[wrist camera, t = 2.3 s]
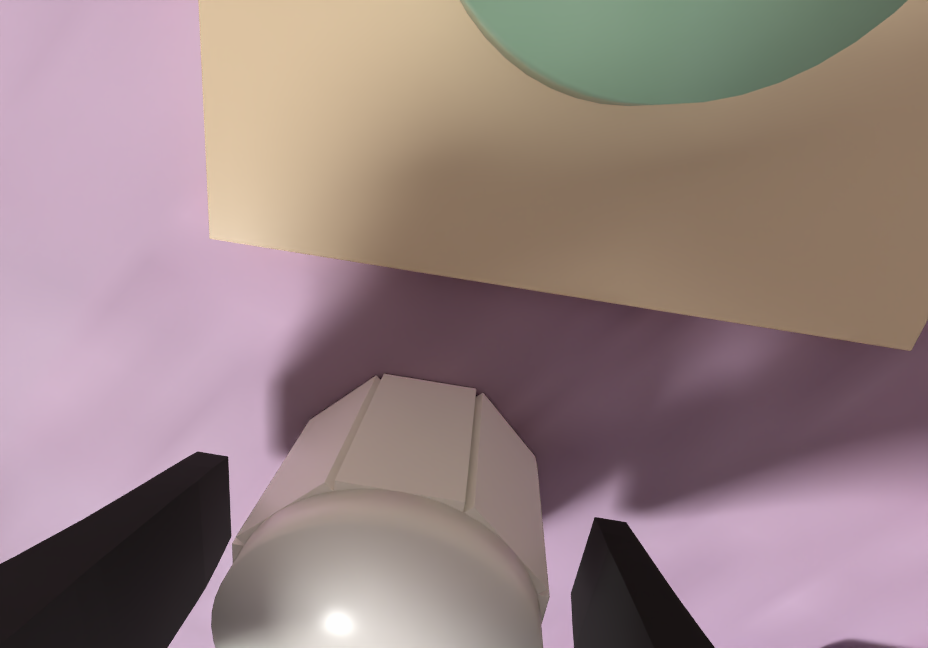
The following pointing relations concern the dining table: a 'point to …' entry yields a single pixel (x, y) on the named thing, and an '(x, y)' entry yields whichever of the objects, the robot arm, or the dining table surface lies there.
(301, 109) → the beige square tray
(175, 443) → the dining table surface
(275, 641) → the cap
